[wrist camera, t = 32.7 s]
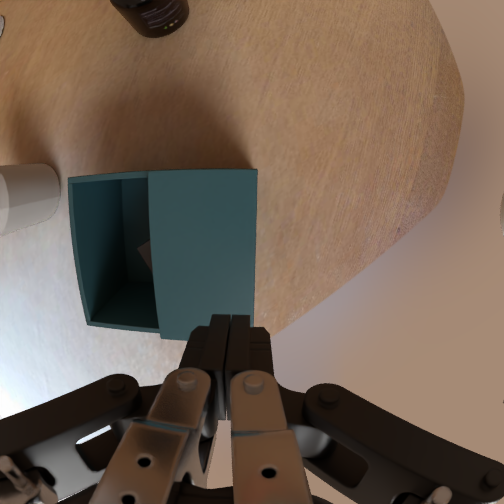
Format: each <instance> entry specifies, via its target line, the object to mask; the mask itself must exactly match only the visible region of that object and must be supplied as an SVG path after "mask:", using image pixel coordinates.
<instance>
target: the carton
mask: <svg viewBox="0 0 504 504" xmlns="http://www.w3.org/2000/svg"><path fill="white" fill-rule="evenodd" d="M210 169H234V168H210ZM169 170H186V169H169ZM256 170H257V169H256ZM148 171H159V170H148ZM148 171H132V172H119V173H107V174H96V175H87V176H78V177H70V178H68V200H69V215H70V227H71V237H72V245H73V253H74V260H75V267H76V273H77V279H78V285H79V290H80V295H81V300H82V305H83V309H84V314H85V318H86V322H87V325H89V326H96V327H104V328H112V329H120V330H129V331H139V332H150V333H160V331H159V323H158V316H157V308H156V300H155V291H154V281H153V274H152V272H151V270H150V269H149V267H148V266H147V264H146V263H145V261H144V259H143V258H142V256H141V254H140V253H139V251H138V250H137V247H139V246H140V245H141V244H143V243H144V242H145V241H147V240H148V239H150V227H149V202H148ZM257 175H258V170H257ZM256 216H257V187H256ZM255 254H256V228H255ZM254 292H255V267H254ZM253 327H254V305H253Z"/></svg>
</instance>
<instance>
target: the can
mask: <svg viewBox="0 0 504 504" xmlns="http://www.w3.org/2000/svg"><path fill="white" fill-rule="evenodd" d="M59 199H60V185H59V180H58V177H57V175H56V173H55V171H54V170H53V169H52V168H51V167H50V166H49V165H46V164H44V163H37V164H19V165H5V166H0V237H1V236H4V235H7V234H9V233H12V232H15V231H17V230H20V229H23V228H26V227H29V226H32V225H35V224H38V223H41V222H44V221H46V220H48V219H50V218H51V217H52V216H53V214H54V213H55V211H56V209H57V207H58V204H59Z"/></svg>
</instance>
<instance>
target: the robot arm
mask: <svg viewBox="0 0 504 504" xmlns="http://www.w3.org/2000/svg"><path fill="white" fill-rule="evenodd" d="M226 410H227V420H231V448H232V473H233V486H231V487H224V488H217V489H207V488H206V487H207V477H208V472H209V468H210V464H211V459H212V455H213V450H214V446H215V441H216V431H217V426H218V420H226ZM108 425H110V427H111V429H110V430H108V431H106V432H104V433H102V434H100V435H98V436H96V437H94V438H92V439H90V440H88V441H86V442H84V443H82V444H76V443H77V441H78V440H79V439H81V438H83V437H85V436H87V435H89V434H92V433H94V432H96V431H98V430H100V429H102V428H104V427H106V426H108ZM304 467H305V468H307V469H308V470H309V471H311V472H312V473H313V474H315V475H316V476H318V477H319V478H320V479H322V480H323V481H324V482H326V483H327V484H329V485H330V486H332V487H333V488H334V489H336V490H338V491H339V492H340V493H342V494H343V495H345V496H347V497H348V498H350V499H351V500H353V501H354V502H356V503H358V504H495V503H497V502H498V501H499V500H500V499H501V498H502V497H503V496H504V465H503V464H502V463H500V462H498V461H495V460H492V459H490V458H487V457H485V456H482V455H480V454H477V453H475V452H473V451H470V450H468V449H465V448H463V447H461V446H458V445H456V444H454V443H452V442H449V441H447V440H445V439H443V438H440V437H438V436H436V435H434V434H432V433H430V432H428V431H425V430H423V429H421V428H419V427H417V426H415V425H413V424H411V423H409V422H407V421H405V420H403V419H401V418H399V417H397V416H395V415H393V414H391V413H389V412H387V411H385V410H383V409H382V408H380V407H378V406H376V405H374V404H372V403H370V402H369V401H367V400H365V399H363V398H361V397H359V396H358V395H356V394H354V393H352V392H350V391H348V390H347V389H345V388H343V387H341V386H339V385H336V384H329V383H328V384H327V383H324V384H318V385H315V386H313V387H311V388H310V389H308V390H307V392H306V393H301V392H295V391H291V390H288V389H286V388H284V387H282V386H280V384H278V382H277V381H276V379H275V377H274V370H273V360H272V351H271V341H270V334H269V333H268V332H267V330H266V329H265V328H264V327H250V315H236V314H232V318H231V314H212V316H211V320H210V324H209V326H201V325H199V326H197V327H196V328H195V329H194V330H193V331H192V332H191V334H190V336H189V339H188V342H187V345H186V348H185V351H184V353H183V356H182V359H181V362H180V365H179V368H178V369H176V370H174V371H172V372H171V373H169V374H168V375H167V377H166V378H165V380H164V382H163V384H159V385H153V386H143V387H139V384H138V382H137V380H136V379H135V378H133V377H132V376H129V375H126V374H113V375H109V376H106V377H104V378H102V379H100V380H97V381H95V382H93V383H91V384H88V385H86V386H84V387H81V388H79V389H77V390H74V391H72V392H70V393H67V394H65V395H62V396H60V397H58V398H55V399H53V400H50V401H48V402H45V403H43V404H40V405H38V406H35V407H33V408H30V409H27V410H25V411H22V412H20V413H17V414H14V415H12V416H9V417H6V418H3V419H1V420H0V504H333V503H331V502H329V501H327V500H325V499H322V498H320V497H317V496H314V495H311V492H310V489H309V485H308V480H307V476H306V473H305V469H304ZM98 482H99V483H98ZM83 489H84V490H83ZM81 490H82V491H81ZM79 491H80V492H79ZM77 492H78V493H77ZM75 493H76V494H75ZM73 494H74V495H73ZM70 495H72V496H70ZM68 496H70V497H68ZM66 497H68V498H66ZM63 498H66V499H64V500H62V501H60V502H58V501H59V500H61V499H63Z"/></svg>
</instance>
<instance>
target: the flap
mask: <svg viewBox="0 0 504 504" xmlns="http://www.w3.org/2000/svg"><path fill="white" fill-rule="evenodd" d="M256 187H257V170H256V169H186V170H159V171H148V202H149V227H150V244H151V258H152V270H153V281H154V291H155V300H156V308H157V316H158V323H159V331H160V337H161V339H170V340H184V341H188V339H189V336H190V334H191V332H192V331H193V330H194V329H195V328H196V327H197V326H199V325H201V326H209V324H210V320H211V316H212V314H231V318H232V314H236V315H250V327H253V305H254V267H255V228H256Z"/></svg>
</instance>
